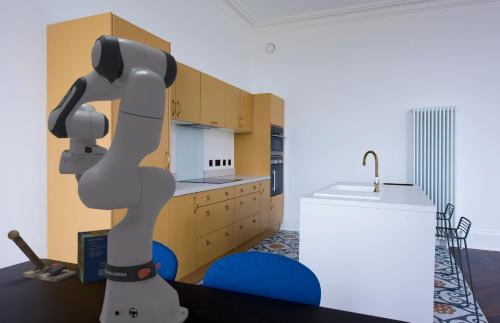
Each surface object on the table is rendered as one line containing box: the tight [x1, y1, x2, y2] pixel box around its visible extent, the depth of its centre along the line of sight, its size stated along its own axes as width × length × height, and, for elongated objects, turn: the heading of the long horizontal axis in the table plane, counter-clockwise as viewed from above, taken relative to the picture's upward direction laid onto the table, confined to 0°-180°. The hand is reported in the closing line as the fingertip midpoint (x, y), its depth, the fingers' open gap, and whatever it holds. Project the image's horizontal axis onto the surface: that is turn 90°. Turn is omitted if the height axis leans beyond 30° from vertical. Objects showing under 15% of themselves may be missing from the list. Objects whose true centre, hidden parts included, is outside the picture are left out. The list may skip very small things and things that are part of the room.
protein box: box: [76, 228, 111, 285], centre depth 119 cm, size 10×15×16 cm
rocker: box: [48, 264, 68, 275], centre depth 117 cm, size 3×5×1 cm, turn 160°
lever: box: [7, 229, 48, 270], centre depth 115 cm, size 3×3×20 cm
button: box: [51, 263, 61, 269], centre depth 120 cm, size 3×3×2 cm
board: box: [21, 266, 77, 283], centre depth 119 cm, size 16×8×3 cm, turn 70°
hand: (82, 187), depth 123 cm, fingers closed
